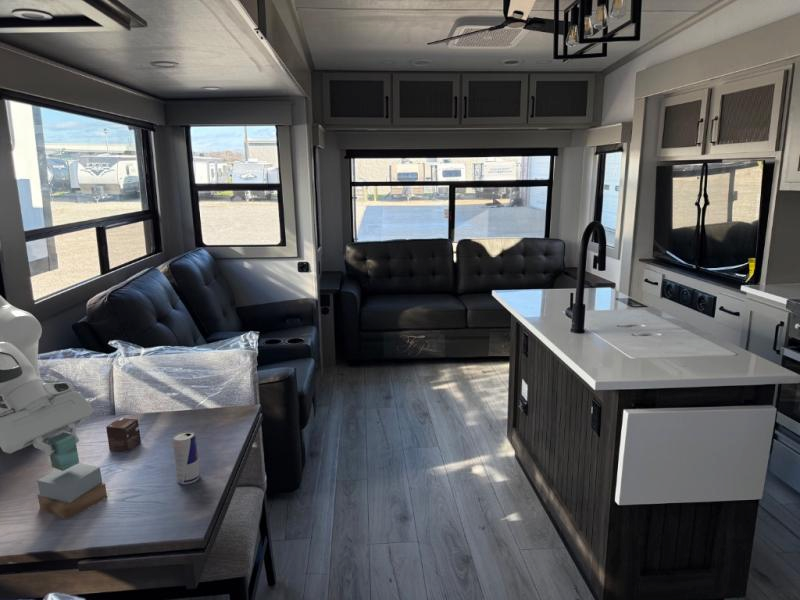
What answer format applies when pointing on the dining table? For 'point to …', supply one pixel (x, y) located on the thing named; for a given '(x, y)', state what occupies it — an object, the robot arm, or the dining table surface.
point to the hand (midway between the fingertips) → (64, 448)
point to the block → (64, 451)
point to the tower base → (73, 502)
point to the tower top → (69, 482)
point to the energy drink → (186, 457)
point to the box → (123, 434)
